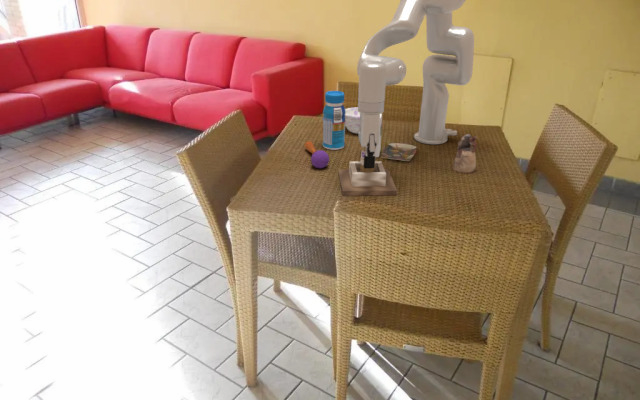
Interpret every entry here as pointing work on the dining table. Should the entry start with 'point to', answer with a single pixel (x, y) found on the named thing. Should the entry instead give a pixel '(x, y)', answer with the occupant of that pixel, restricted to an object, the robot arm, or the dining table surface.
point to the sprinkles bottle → (363, 161)
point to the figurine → (465, 155)
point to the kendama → (317, 156)
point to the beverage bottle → (334, 121)
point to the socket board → (366, 180)
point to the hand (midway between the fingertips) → (367, 163)
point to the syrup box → (379, 138)
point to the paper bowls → (352, 119)
